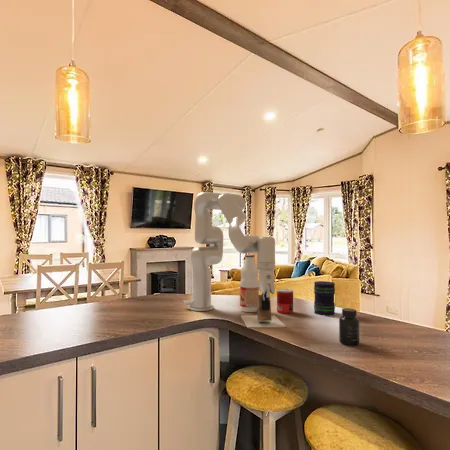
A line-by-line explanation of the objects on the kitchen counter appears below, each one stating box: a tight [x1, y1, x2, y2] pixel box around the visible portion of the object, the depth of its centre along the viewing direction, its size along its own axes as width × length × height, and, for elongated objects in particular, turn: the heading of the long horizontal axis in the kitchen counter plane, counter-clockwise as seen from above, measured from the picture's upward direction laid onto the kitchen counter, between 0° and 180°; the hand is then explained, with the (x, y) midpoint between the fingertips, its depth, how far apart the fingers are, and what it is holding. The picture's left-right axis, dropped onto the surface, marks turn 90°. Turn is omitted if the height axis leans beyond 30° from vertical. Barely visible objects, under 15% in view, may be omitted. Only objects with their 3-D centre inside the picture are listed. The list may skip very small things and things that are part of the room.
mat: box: [240, 314, 286, 329], centre depth 141 cm, size 16×18×1 cm
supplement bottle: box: [338, 307, 361, 347], centre depth 114 cm, size 7×7×12 cm
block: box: [256, 294, 272, 322], centre depth 138 cm, size 5×5×11 cm
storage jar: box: [313, 280, 336, 317], centre depth 158 cm, size 10×10×15 cm
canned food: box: [276, 288, 294, 315], centre depth 159 cm, size 8×8×11 cm
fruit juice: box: [239, 254, 260, 313], centre depth 162 cm, size 9×9×28 cm
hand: (265, 309), depth 134 cm, fingers closed
